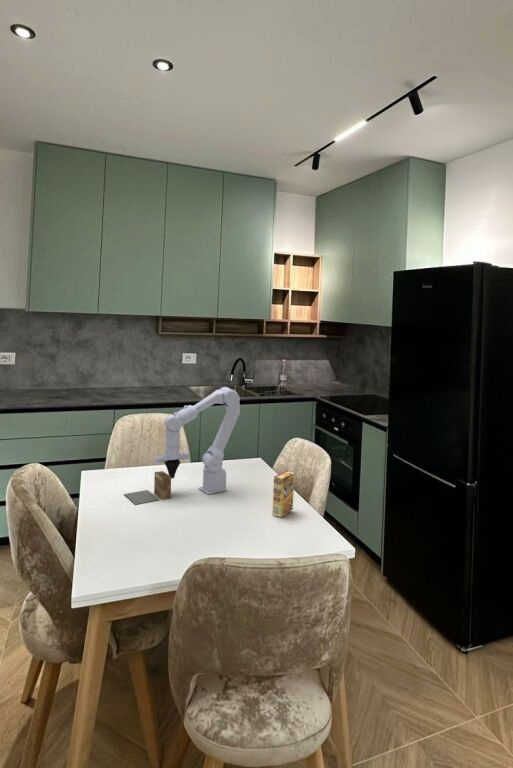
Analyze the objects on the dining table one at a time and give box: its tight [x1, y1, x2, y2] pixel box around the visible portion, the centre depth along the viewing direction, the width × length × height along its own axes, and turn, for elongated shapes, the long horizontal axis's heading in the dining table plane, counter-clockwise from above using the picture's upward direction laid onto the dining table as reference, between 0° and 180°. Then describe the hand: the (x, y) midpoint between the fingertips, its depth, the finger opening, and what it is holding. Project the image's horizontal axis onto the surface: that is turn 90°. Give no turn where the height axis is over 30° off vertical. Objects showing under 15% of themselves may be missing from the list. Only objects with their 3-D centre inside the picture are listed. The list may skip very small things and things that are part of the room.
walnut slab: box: [153, 470, 172, 501], centre depth 193 cm, size 4×8×9 cm, turn 36°
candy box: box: [271, 470, 295, 518], centre depth 180 cm, size 9×4×15 cm, turn 146°
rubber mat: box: [123, 489, 161, 506], centre depth 190 cm, size 10×12×1 cm
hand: (171, 477), depth 195 cm, fingers closed
